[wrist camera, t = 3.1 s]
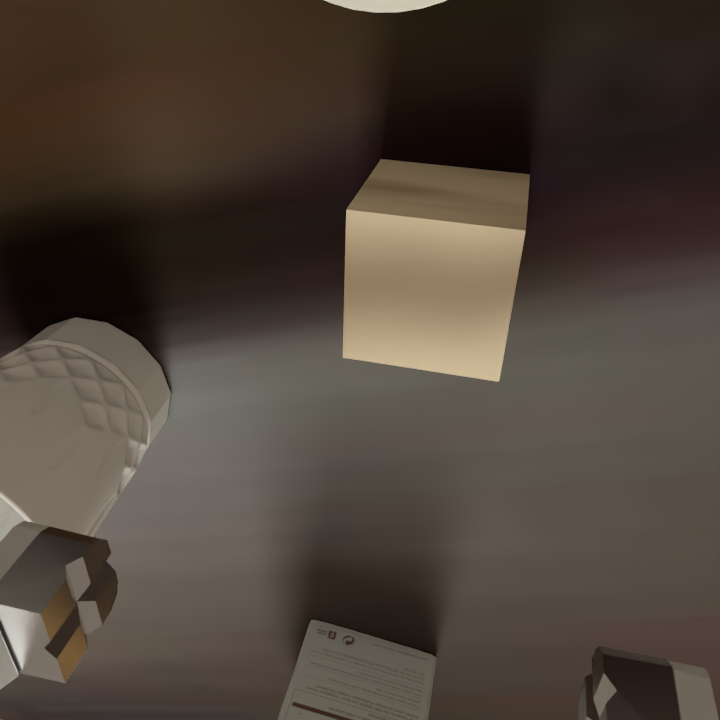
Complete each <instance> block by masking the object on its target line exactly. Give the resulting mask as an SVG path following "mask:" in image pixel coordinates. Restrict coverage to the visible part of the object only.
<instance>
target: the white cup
mask: <svg viewBox="0 0 720 720" xmlns="http://www.w3.org/2000/svg"><path fill="white" fill-rule="evenodd" d="M170 397H171V392H170V390H169V387H168V384H167V382H166V379H165V376H164V374H163V371H162V368H161V366H160V364H159V363H158V362H157V361H156V360H155V359H154V358H153V357H152V355H151V354H150V353H149V352H148V351H147V350H146V349H145V347H144V346H143V345H142V344H141V343H140V342H139V341H138V340H137V339H135V338H133V337H132V336H130V335H128V334H127V333H125V332H123V331H121V330H120V329H118V328H116V327H114V326H113V325H111V324H109V323H107V322H101V321H95V320H89V319H83V318H77V317H75V318H71V319H68V320H65V321H62V322H59V323H56V324H53V325H50V326H48V327H47V328H45V329H44V330H43V331H41V332H40V333H39V334H37V335H36V336H35V337H33V338H32V339H31V340H29V341H28V342H27V343H25V344H24V345H23V346H21V347H20V348H18V349H16V350H14V351H13V352H11V353H9V354H7V355H6V356H4V357H2V358H1V359H0V541H1V540H2V539H3V538H4V537H5V536H6V535H7V534H8V532H9V531H10V530H11V529H12V528H13V527H14V526H16V525H17V524H19V523H21V522H23V521H28V522H33V523H38V524H42V525H47V526H51V527H54V528H59V529H63V530H67V531H71V532H75V533H80V534H84V535H88V536H92V537H94V535H95V534H96V532H97V531H98V529H99V528H100V526H101V525H102V523H103V522H104V520H105V519H106V517H107V516H108V514H109V512H110V511H111V509H112V508H113V506H114V505H115V503H116V502H117V500H118V499H119V497H120V495H121V494H122V491H123V489H124V488H125V486H126V485H127V483H128V482H129V481H130V479H131V478H132V476H133V474H134V473H135V471H136V470H137V468H138V466H139V464H140V461H141V459H142V457H143V455H144V453H145V451H146V450H147V448H148V447H149V445H150V444H151V442H152V441H153V439H154V438H155V437H156V435H157V434H158V432H159V431H160V429H161V428H162V426H163V425H164V423H165V422H166V420H167V418H168V411H169V404H170Z"/></svg>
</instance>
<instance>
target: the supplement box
mask: <svg viewBox="0 0 720 720" xmlns="http://www.w3.org/2000/svg"><path fill="white" fill-rule="evenodd" d="M435 665H436V657H435V656H433V655H432V654H429V653H426V652H423V651H420V650H417V649H414V648H410V647H407V646H403V645H400V644H397V643H393V642H390V641H387V640H383V639H380V638H377V637H374V636H370V635H367V634H364V633H360V632H357V631H354V630H350V629H347V628H343V627H340V626H336V625H333V624H329V623H326V622H322V621H318V620H311V621H310V623H309V626H308V629H307V632H306V635H305V638H304V641H303V644H302V647H301V650H300V653H299V657H298V660H297V663H296V666H295V669H294V672H293V675H292V678H291V681H290V684H289V687H288V690H287V693H286V696H285V699H284V702H283V705H282V708H281V711H280V714H279V717H278V720H428V715H429V707H430V700H431V693H432V686H433V679H434V672H435Z"/></svg>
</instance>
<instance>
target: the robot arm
mask: <svg viewBox="0 0 720 720" xmlns="http://www.w3.org/2000/svg"><path fill="white" fill-rule="evenodd" d="M110 554H111V551H110V548H109V545H108V542H107V540H105V539H101V538H96V537H92V536H88V535H84V534H80V533H75V532H71V531H67V530H63V529H59V528H54V527H51V526H47V525H42V524H38V523H33V522H28V521H23V522H21V523H19V524H17V525H16V526H14V527H13V528H12V529H11V530H10V531H9V532H8V534H7V535H6V536H5V537H4V538H3V539H2V540H1V541H0V689H1V688H3V687H4V686H5V685H7V684H8V683H10V682H11V681H12V680H14V679H15V678H16V677H18V676H19V674H18V673H23V674H27V675H32V676H36V677H40V678H45V679H49V680H54V681H58V682H62V683H66V681H67V680H68V678H69V676H70V675H71V673H72V672H73V670H74V669H75V667H76V665H77V664H78V662H79V661H80V659H81V658H82V656H83V655H84V653H85V651H86V650H87V648H88V645H87V634H88V633H90V632H92V631H93V630H95V629H97V628H98V627H100V626H101V625H103V623H104V621H105V620H106V618H107V616H108V615H109V613H110V611H111V609H112V606H113V604H114V601H115V598H116V595H117V584H118V580H117V575H116V571H115V570H114V569H113V568H112V567H111V566H110V565H109V564H108V562H107V561H106V560H107V559H108V557H109V556H110ZM578 720H719V718H718V713H717V708H716V704H715V699H714V694H713V689H712V685H711V680H710V676H709V674H708V673H707V671H706V670H705V669H704V668H701V667H697V666H692V665H687V664H682V663H677V662H672V661H667V660H666V659H663V658H658V657H653V656H648V655H643V654H638V653H633V652H628V651H623V650H618V649H613V648H608V647H603V646H598V647H597V648H596V649H595V652H594V655H593V657H592V674H590V675H588V676H586V677H585V680H584V683H583V686H582V689H581V695H580V701H579V707H578Z"/></svg>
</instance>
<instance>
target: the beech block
mask: <svg viewBox="0 0 720 720" xmlns="http://www.w3.org/2000/svg"><path fill="white" fill-rule="evenodd" d="M529 180H530V174H522V173H512V172H502V171H492V170H483V169H473V168H463V167H454V166H444V165H434V164H424V163H415V162H405V161H395V160H386V159H381V160H380V161H379V163H378V164H377V166H376V167H375V169H374V170H373V171H372V173H371V174H370V176H369V177H368V179H367V180H366V182H365V183H364V185H363V186H362V187H361V189H360V190H359V192H358V193H357V195H356V196H355V198H354V199H353V201H352V202H351V203H350V205H349V206H348V208H347V209H346V244H345V286H344V328H343V358H349V359H355V360H362V361H368V362H375V363H381V364H388V365H394V366H400V367H407V368H413V369H420V370H426V371H433V372H439V373H446V374H452V375H458V376H465V377H471V378H478V379H484V380H491V381H497V382H499V379H500V374H501V368H502V362H503V357H504V351H505V345H506V340H507V334H508V328H509V322H510V317H511V311H512V305H513V300H514V294H515V288H516V283H517V277H518V271H519V266H520V260H521V254H522V249H523V243H524V237H525V232H526V220H527V207H528V194H529Z"/></svg>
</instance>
